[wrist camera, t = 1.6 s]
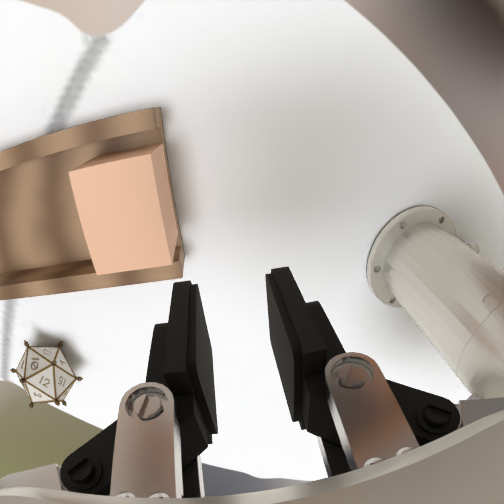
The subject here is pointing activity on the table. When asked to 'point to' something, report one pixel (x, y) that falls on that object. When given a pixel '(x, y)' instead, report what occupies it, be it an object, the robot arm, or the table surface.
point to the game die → (45, 374)
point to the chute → (65, 209)
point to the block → (126, 209)
